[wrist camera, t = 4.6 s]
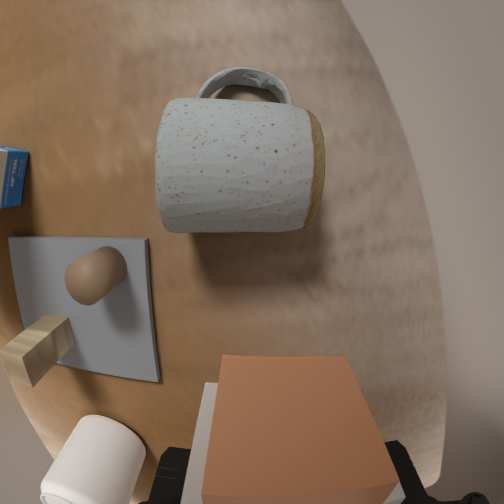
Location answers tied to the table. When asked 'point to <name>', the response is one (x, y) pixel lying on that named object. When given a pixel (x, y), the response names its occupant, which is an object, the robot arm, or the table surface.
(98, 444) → the beverage can
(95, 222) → the table surface
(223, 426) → the peach foam cube
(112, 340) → the slate plate
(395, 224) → the table surface
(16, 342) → the maple post
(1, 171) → the ink box
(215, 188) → the ceramic mug
